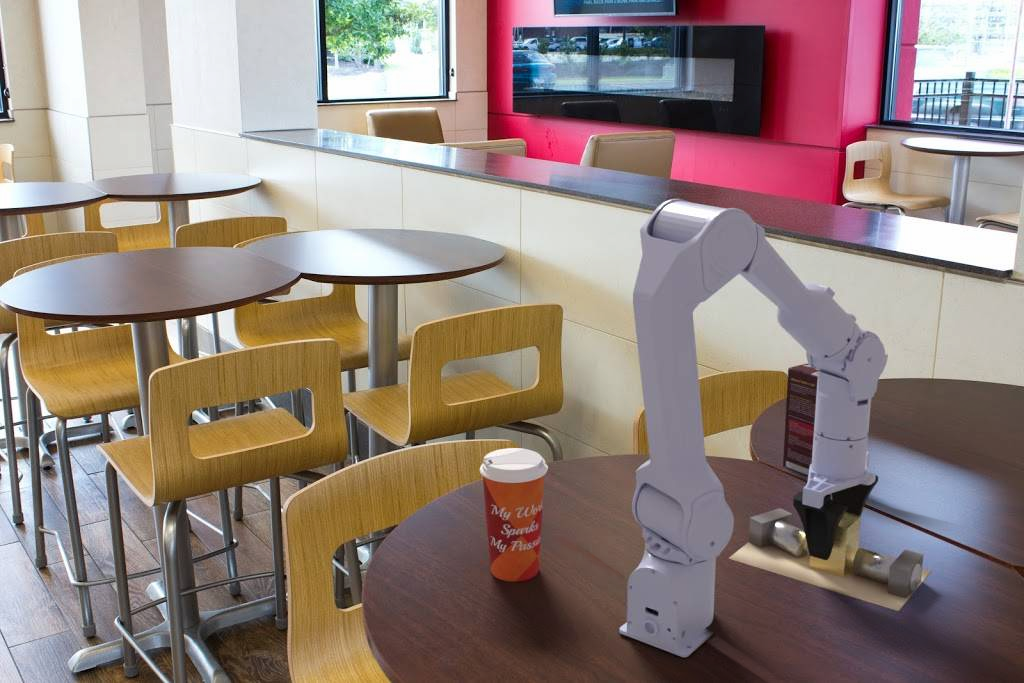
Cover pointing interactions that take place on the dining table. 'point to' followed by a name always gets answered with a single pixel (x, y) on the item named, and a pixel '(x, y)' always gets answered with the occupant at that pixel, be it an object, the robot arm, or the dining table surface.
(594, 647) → the dining table surface
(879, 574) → the shaft straight
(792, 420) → the supplement box
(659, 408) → the robot arm
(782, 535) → the shaft angled
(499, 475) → the paper cup
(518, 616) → the dining table surface
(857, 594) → the board
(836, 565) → the yellow rectangular block
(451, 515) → the dining table surface
